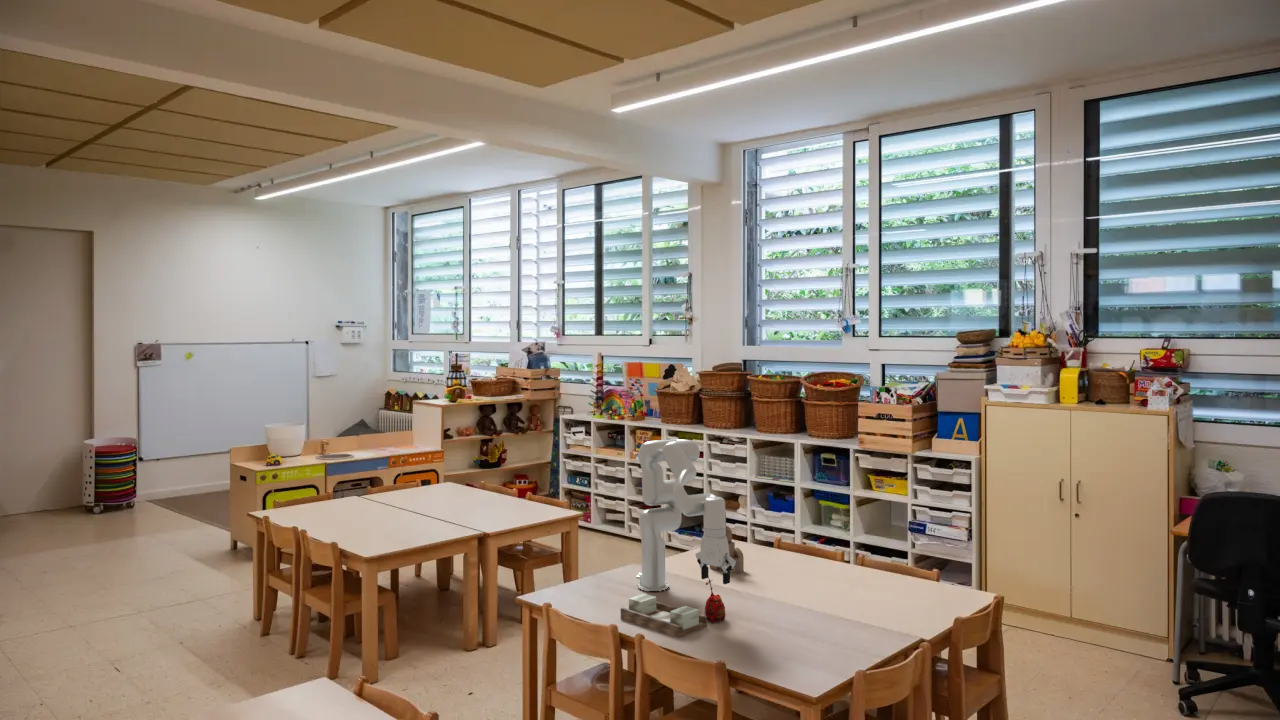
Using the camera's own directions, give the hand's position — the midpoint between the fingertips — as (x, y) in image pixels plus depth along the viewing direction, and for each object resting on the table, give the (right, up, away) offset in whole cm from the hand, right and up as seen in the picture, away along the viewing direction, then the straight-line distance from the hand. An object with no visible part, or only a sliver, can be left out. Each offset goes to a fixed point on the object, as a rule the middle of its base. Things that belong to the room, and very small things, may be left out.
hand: (715, 580), depth 286 cm
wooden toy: (+10, -13, +65) cm, 67 cm away
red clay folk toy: (0, -14, +1) cm, 14 cm away
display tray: (-19, -14, -1) cm, 23 cm away
